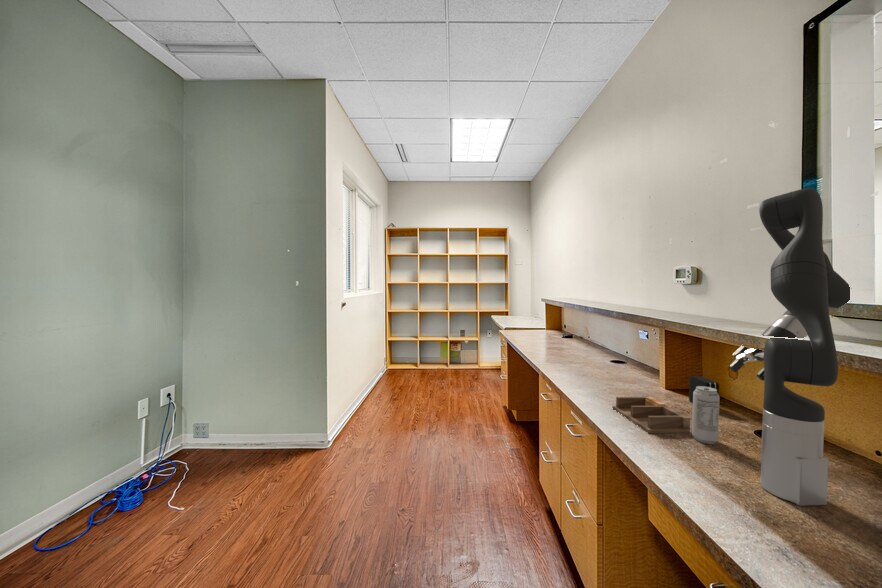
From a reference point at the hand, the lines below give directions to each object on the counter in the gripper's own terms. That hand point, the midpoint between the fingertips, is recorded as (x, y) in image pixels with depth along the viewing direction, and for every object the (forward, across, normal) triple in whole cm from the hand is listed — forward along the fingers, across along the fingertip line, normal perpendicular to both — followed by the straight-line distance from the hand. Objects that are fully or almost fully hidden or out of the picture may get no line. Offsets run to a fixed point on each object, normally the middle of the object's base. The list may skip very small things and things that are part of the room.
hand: (745, 374), depth 100 cm
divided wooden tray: (+27, -15, 0) cm, 31 cm away
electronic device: (+7, -27, +21) cm, 35 cm away
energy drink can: (+22, 0, +5) cm, 23 cm away
